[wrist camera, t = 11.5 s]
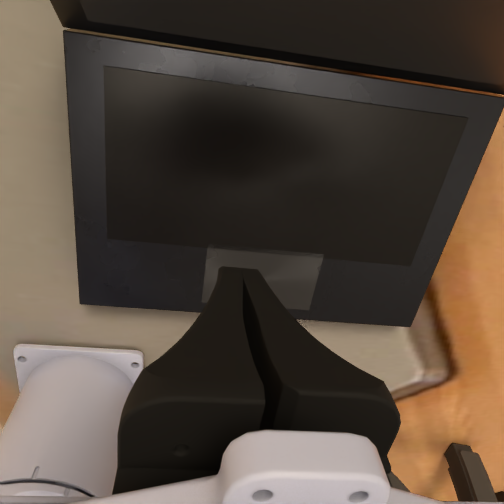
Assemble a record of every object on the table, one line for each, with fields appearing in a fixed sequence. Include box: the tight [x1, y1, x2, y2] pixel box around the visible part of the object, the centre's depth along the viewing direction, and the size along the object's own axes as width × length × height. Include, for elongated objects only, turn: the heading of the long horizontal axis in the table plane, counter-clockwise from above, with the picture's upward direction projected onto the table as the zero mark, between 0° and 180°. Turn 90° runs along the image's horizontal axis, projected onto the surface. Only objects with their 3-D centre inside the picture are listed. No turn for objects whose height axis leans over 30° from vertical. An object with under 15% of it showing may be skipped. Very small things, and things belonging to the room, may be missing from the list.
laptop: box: [63, 28, 504, 327], centre depth 23 cm, size 14×20×2 cm
